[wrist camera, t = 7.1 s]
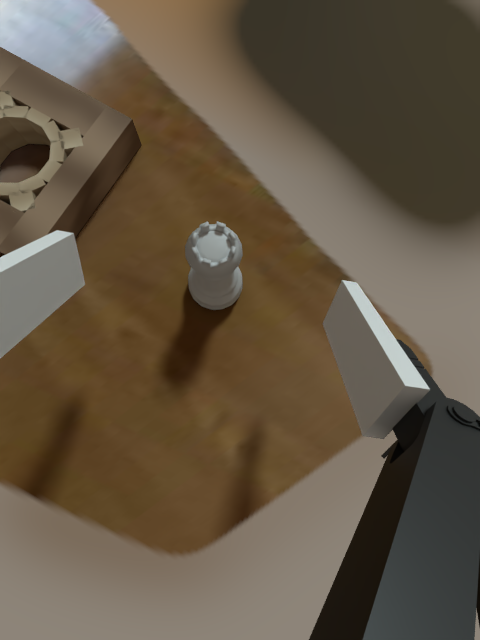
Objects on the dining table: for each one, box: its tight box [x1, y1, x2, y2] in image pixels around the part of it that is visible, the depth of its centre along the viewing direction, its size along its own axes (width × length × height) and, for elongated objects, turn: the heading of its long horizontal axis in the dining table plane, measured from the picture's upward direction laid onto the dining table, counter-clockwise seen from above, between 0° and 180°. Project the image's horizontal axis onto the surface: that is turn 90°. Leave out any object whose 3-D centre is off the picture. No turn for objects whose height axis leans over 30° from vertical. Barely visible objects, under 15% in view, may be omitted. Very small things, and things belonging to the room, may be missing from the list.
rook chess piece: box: [185, 222, 243, 310], centre depth 18 cm, size 4×4×8 cm
